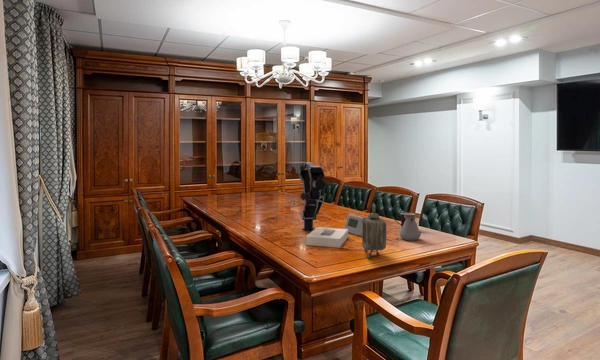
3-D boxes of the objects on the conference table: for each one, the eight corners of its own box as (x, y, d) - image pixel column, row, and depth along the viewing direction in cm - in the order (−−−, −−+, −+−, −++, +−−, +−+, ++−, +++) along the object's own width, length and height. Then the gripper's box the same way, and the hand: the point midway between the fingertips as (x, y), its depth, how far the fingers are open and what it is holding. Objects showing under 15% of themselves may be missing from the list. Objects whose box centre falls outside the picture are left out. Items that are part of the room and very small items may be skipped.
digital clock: (342, 231, 229) (342, 214, 228) (355, 230, 232) (356, 213, 231) (355, 237, 214) (355, 218, 213) (369, 236, 217) (369, 217, 216)
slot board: (317, 234, 219) (317, 227, 219) (348, 237, 214) (348, 229, 214) (305, 244, 197) (305, 236, 196) (339, 247, 191) (339, 238, 191)
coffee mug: (416, 229, 235) (416, 213, 234) (412, 231, 228) (412, 215, 227) (397, 227, 241) (398, 211, 240) (393, 229, 234) (393, 213, 233)
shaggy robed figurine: (361, 251, 185) (362, 200, 182) (380, 251, 184) (381, 201, 182) (366, 260, 170) (367, 205, 168) (386, 260, 170) (387, 205, 168)
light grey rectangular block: (325, 238, 208) (325, 228, 207) (332, 239, 207) (332, 228, 206) (323, 240, 204) (323, 229, 203) (330, 240, 203) (330, 230, 202)
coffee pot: (398, 236, 216) (399, 210, 215) (419, 237, 214) (420, 211, 213) (400, 245, 196) (401, 217, 194) (423, 247, 193) (424, 218, 192)
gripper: (306, 185, 227) (306, 211, 228) (297, 189, 209) (297, 217, 210) (324, 186, 223) (324, 212, 225) (316, 190, 205) (316, 218, 207)
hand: (315, 214), depth 217 cm, fingers open, 9 cm apart
